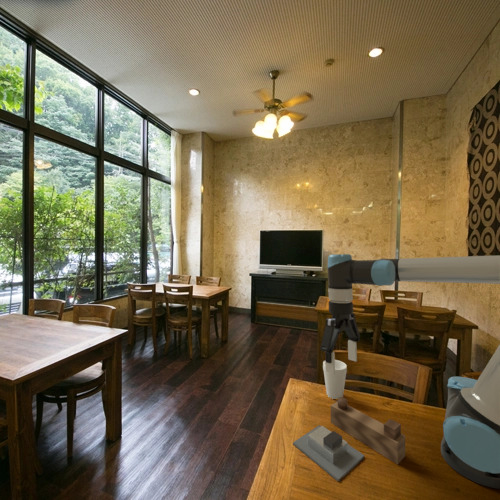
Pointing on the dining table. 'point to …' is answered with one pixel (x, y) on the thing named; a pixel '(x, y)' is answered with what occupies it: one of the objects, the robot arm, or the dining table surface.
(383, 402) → the dining table surface
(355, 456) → the rubber mat
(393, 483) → the dining table surface
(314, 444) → the light grey block
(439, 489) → the dining table surface
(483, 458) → the robot arm
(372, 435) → the plane body
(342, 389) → the foam cup
